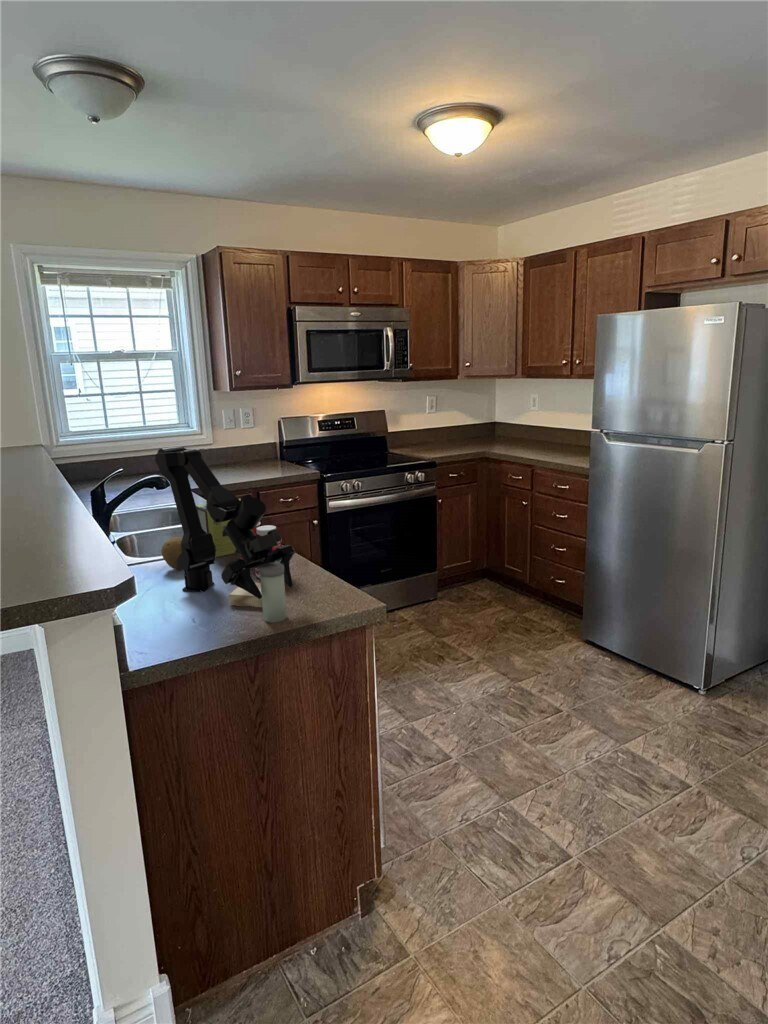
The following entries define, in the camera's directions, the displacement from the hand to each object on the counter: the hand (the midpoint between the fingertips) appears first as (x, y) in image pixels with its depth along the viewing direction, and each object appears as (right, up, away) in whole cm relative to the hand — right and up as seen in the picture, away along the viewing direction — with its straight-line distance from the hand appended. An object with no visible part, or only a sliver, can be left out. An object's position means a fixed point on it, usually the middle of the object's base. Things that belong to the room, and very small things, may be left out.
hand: (276, 592), depth 149 cm
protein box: (-26, +6, +58) cm, 64 cm away
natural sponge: (-36, +2, +40) cm, 54 cm away
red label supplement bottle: (-15, +3, +43) cm, 45 cm away
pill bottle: (-7, 0, +32) cm, 33 cm away
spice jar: (-1, -6, +2) cm, 7 cm away
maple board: (-8, -4, +14) cm, 17 cm away
